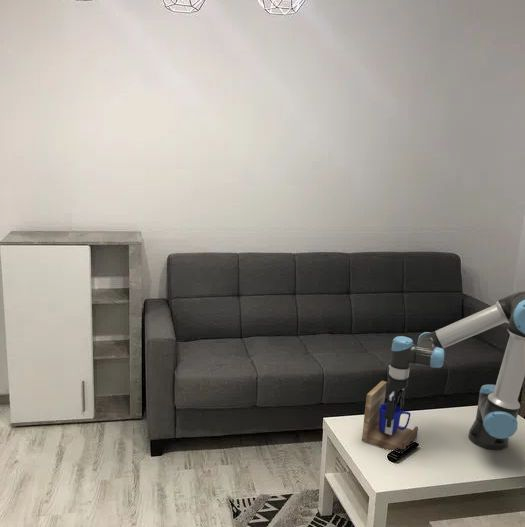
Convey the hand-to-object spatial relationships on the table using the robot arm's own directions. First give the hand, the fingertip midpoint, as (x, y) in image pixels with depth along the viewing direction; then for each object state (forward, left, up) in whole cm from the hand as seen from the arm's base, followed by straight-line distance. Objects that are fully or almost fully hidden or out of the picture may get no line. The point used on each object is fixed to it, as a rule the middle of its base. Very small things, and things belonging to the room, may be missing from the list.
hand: (392, 429), depth 242 cm
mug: (0, -1, -1) cm, 1 cm away
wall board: (+8, 0, -5) cm, 9 cm away
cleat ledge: (0, 0, -5) cm, 5 cm away
